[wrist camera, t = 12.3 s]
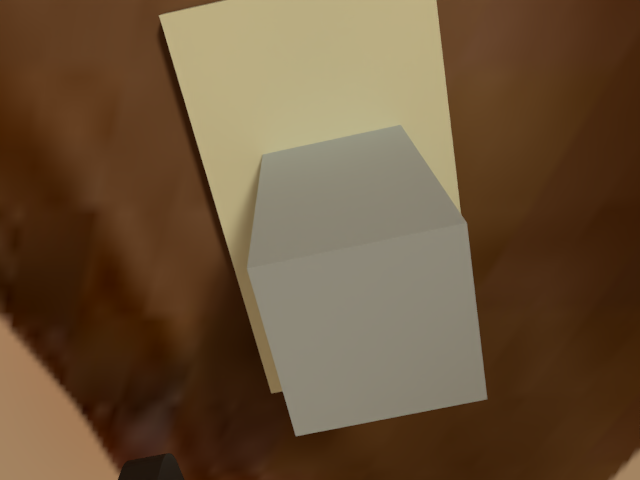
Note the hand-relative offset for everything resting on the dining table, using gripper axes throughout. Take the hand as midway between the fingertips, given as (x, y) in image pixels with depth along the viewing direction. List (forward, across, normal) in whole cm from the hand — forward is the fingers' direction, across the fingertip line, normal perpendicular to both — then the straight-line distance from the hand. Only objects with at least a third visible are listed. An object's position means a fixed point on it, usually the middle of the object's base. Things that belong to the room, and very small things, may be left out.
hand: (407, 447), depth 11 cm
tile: (+12, 0, 0) cm, 12 cm away
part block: (+11, 0, 0) cm, 11 cm away
